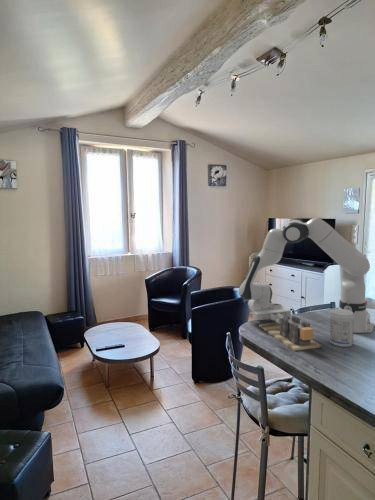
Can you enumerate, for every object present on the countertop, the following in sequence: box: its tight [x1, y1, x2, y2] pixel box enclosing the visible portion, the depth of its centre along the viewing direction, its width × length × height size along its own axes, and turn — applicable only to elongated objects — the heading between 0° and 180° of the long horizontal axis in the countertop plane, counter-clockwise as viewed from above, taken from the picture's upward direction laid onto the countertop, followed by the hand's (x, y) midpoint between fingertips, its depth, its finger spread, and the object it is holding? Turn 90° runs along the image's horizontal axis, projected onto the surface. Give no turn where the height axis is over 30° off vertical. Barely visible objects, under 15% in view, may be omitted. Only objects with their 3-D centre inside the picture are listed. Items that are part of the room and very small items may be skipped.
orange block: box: [300, 326, 314, 340], centre depth 141 cm, size 3×5×5 cm, turn 104°
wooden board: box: [258, 315, 321, 351], centre depth 157 cm, size 33×13×10 cm, turn 14°
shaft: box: [275, 315, 304, 336], centre depth 153 cm, size 22×6×6 cm, turn 14°
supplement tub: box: [329, 308, 354, 348], centre depth 146 cm, size 10×10×15 cm
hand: (279, 318), depth 164 cm, fingers closed, pressing on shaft
